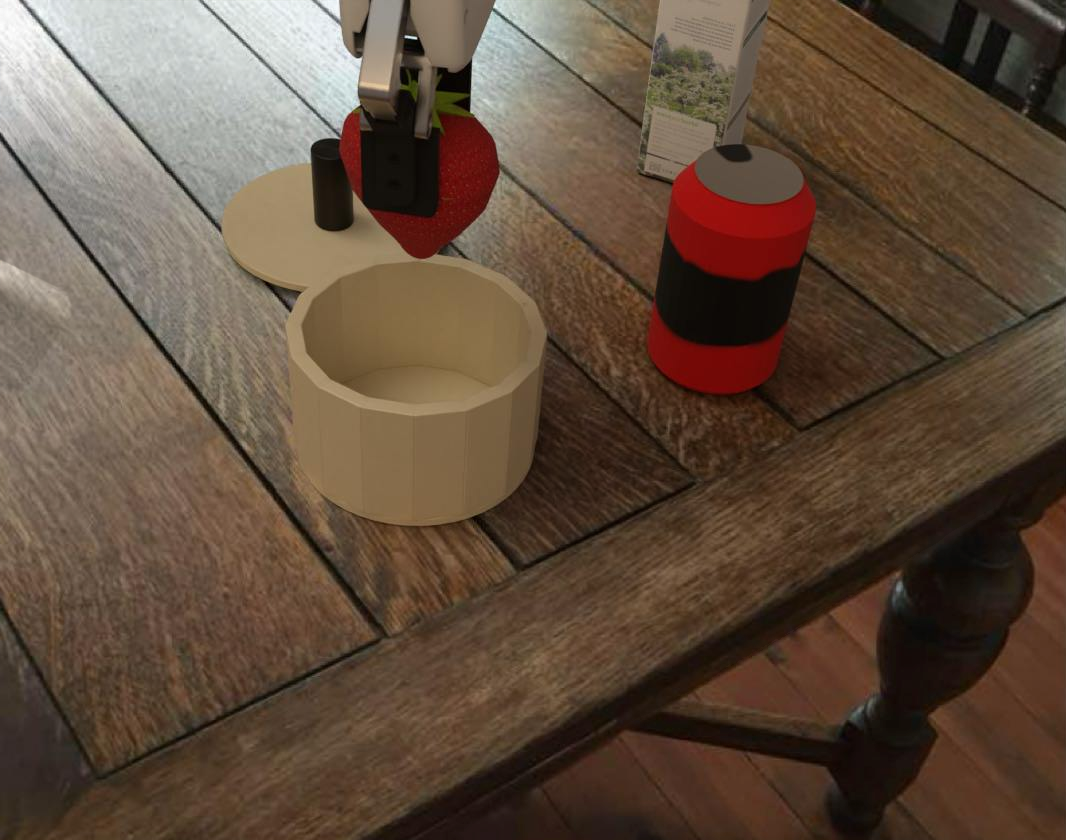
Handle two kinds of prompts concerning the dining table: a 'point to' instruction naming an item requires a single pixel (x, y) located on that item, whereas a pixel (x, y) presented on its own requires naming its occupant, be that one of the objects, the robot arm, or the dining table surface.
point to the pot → (415, 387)
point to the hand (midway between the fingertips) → (418, 163)
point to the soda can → (729, 268)
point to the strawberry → (461, 175)
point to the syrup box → (699, 80)
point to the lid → (302, 222)
